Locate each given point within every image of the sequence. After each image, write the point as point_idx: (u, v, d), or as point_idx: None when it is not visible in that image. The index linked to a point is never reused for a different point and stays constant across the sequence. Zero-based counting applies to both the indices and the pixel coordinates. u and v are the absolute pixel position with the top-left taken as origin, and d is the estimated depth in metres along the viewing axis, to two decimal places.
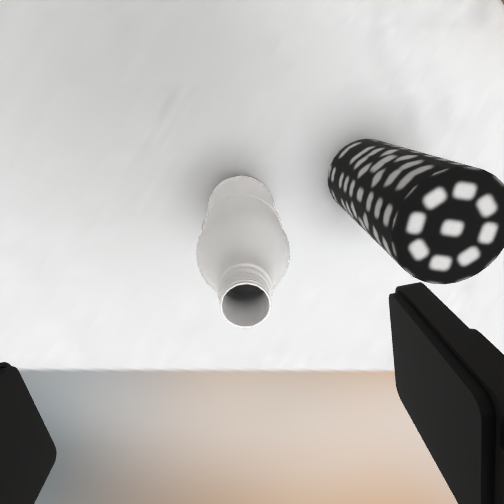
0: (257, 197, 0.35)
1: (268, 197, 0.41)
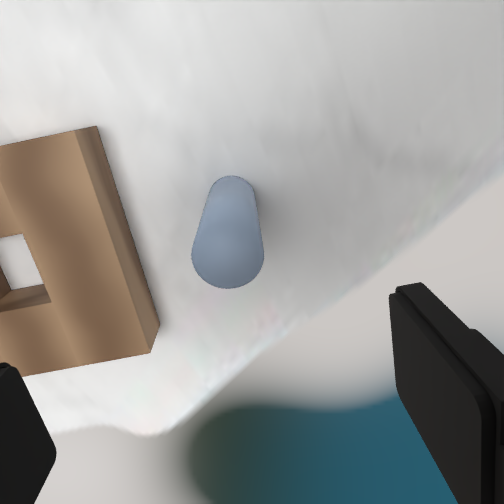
0: None
1: None
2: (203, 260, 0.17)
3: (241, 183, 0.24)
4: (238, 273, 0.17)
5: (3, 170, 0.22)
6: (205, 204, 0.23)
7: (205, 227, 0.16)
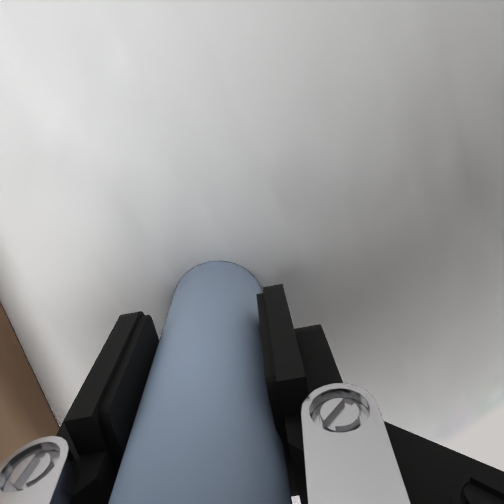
0: None
1: None
2: None
3: (237, 287, 0.12)
4: None
5: None
6: (157, 348, 0.10)
7: None
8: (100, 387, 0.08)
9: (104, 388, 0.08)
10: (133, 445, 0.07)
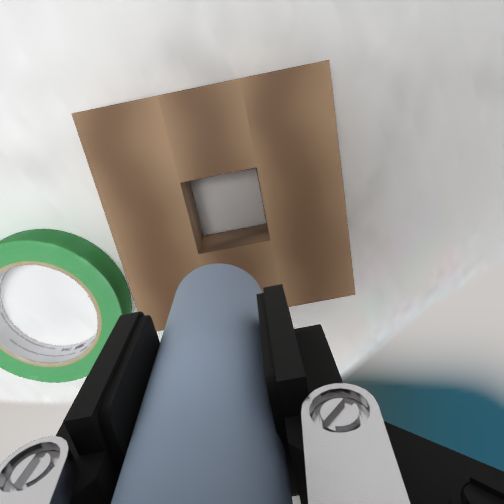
0: None
1: None
2: None
3: (237, 290, 0.12)
4: None
5: (251, 101, 0.22)
6: None
7: None
8: (100, 387, 0.08)
9: (104, 388, 0.08)
10: (134, 449, 0.07)
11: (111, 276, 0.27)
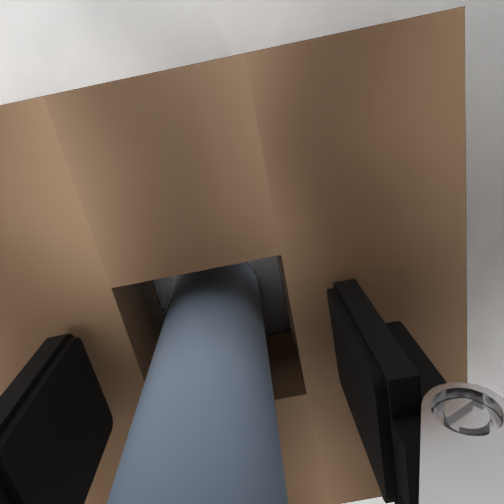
0: None
1: None
2: None
3: (234, 275, 0.12)
4: None
5: (272, 108, 0.09)
6: (161, 329, 0.11)
7: None
8: None
9: (1, 423, 0.07)
10: (143, 405, 0.08)
11: None
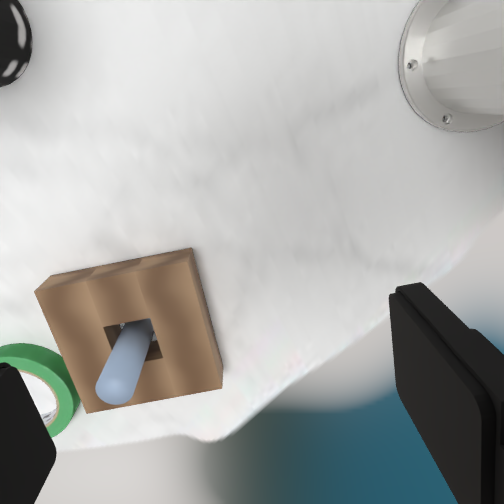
0: None
1: None
2: (101, 392, 0.32)
3: (142, 321, 0.39)
4: (121, 397, 0.32)
5: (143, 283, 0.36)
6: None
7: (101, 376, 0.32)
8: None
9: None
10: (109, 356, 0.35)
11: (65, 375, 0.41)
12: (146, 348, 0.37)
